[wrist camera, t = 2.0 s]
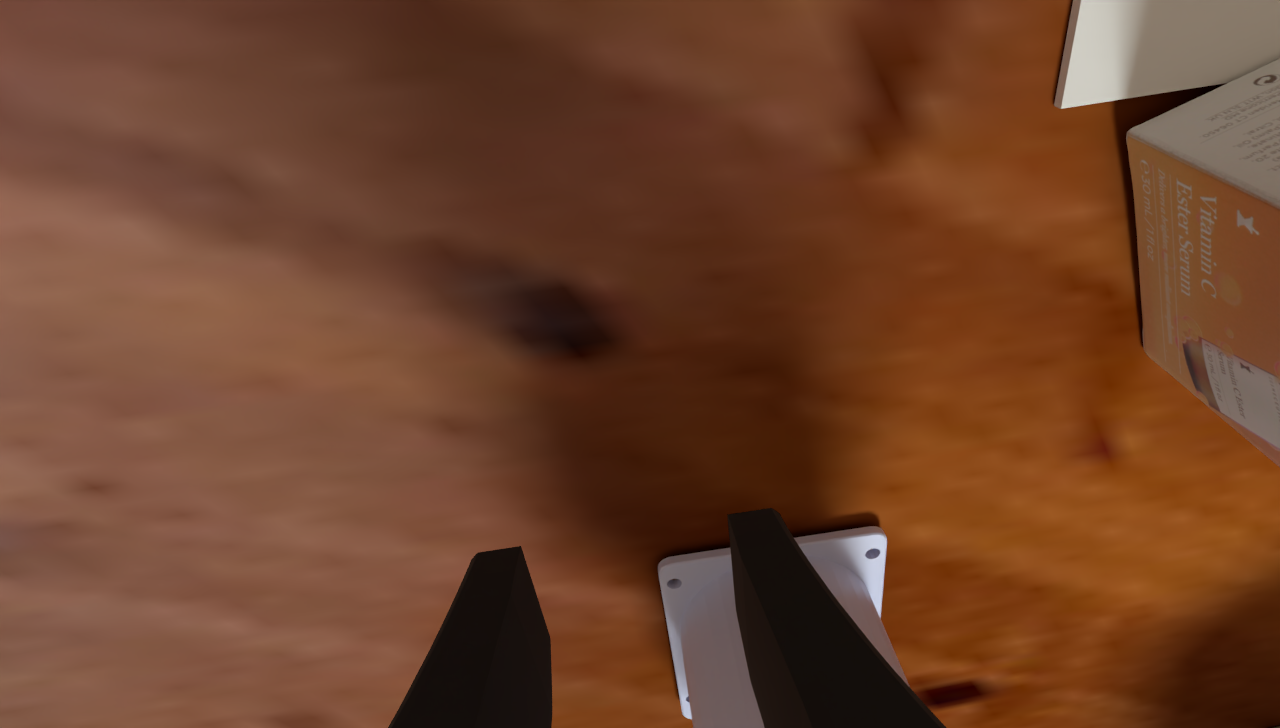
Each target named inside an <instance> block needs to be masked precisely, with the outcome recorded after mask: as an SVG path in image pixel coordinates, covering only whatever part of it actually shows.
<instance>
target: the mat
mask: <svg viewBox="0 0 1280 728" xmlns="http://www.w3.org/2000/svg"><path fill="white" fill-rule="evenodd" d="M1278 59H1280V0H1073V3H1072V9H1071V14H1070V20H1069V26H1068V31H1067V37H1066V42H1065V48H1064V53H1063V59H1062V64H1061V70H1060V75H1059V81H1058V86H1057V92H1056V97H1055V103H1054V106H1056V107H1058V108H1060V109H1063V108H1069V107H1075V106H1082V105H1088V104H1095V103H1101V102H1108V101H1114V100H1121V99H1127V98H1134V97H1140V96H1147V95H1153V94H1160V93H1166V92H1173V91H1179V90H1185V89H1192V88H1198V87H1205V86H1211V85H1218V84H1224V83H1229V82H1231V81H1233V80H1235V79H1238V78H1240V77H1242V76H1244V75H1246V74H1248V73H1250V72H1252V71H1254V70H1257V69H1259V68H1261V67H1263V66H1265V65H1267V64H1269V63H1271V62H1273V61H1276V60H1278Z"/></svg>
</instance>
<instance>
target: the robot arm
mask: <svg viewBox="0 0 1280 728" xmlns="http://www.w3.org/2000/svg"><path fill="white" fill-rule="evenodd" d="M728 526H729V538H730V548H724V549H717V550H710V551H704V552H697V553H691V554H684V555H678V556H671V557H667V558H665V559H663V560H662V561H660V563H659V564H658V576H659V581H660V587H661V593H662V599H663V604H664V610H665V616H666V622H667V628H668V633H669V639H670V645H671V651H672V657H673V662H674V668H675V674H676V680H677V685H678V691H679V697H680V703H681V709H682V714H683V716H685V717H686V718H688V719H692V722H693V728H946V727H945V726H944V725H943V724H942V723H941V722H940V720H939V719H938V718H937V717H936V716H935V715H934V714H933V713H932V712H931V711H930V710H929V709H928V708H927V706H926V705H925V704H924V703H923V702H922V701H921V700H920V699H919V698H918V696H917V695H916V694H915V693H914V692H913V691H912V690H911V689H910V686H909V684H908V682H907V679H906V677H905V675H904V672H903V670H902V668H901V665H900V663H899V661H898V659H897V656H896V654H895V652H894V649H893V647H892V645H891V642H890V640H889V638H888V635H887V633H886V631H885V628H884V626H883V624H882V621H881V608H882V596H883V584H884V572H885V561H886V549H887V537H886V535H885V533H884V531H883V530H882V529H881V528H880V527H877V526H868V527H862V528H855V529H848V530H842V531H835V532H829V533H822V534H816V535H809V536H802V537H796V538H794V537H793V536H792V534H791V533H790V531H789V529H788V528H787V526H786V524H785V523H784V521H783V519H782V517H781V515H780V514H779V513H778V512H777V511H775V510H774V509H772V508H768V509H762V510H755V511H748V512H742V513H735V514H729V515H728ZM870 549H871V550H870ZM671 579H675V580H671ZM551 723H552V674H551V644H550V636H549V633H548V629H547V626H546V623H545V620H544V617H543V614H542V611H541V608H540V604H539V601H538V598H537V595H536V592H535V589H534V586H533V583H532V579H531V576H530V573H529V570H528V567H527V564H526V561H525V558H524V554H523V551H522V548H521V546H519V547H513V548H506V549H499V550H493V551H486V552H480V553H477V554H476V555H475V556H474V558H473V559H472V560H471V562H470V565H469V567H468V569H467V572H466V574H465V576H464V579H463V581H462V583H461V585H460V587H459V590H458V592H457V594H456V596H455V599H454V601H453V603H452V605H451V607H450V609H449V611H448V614H447V616H446V618H445V620H444V622H443V624H442V626H441V628H440V630H439V632H438V634H437V636H436V638H435V640H434V642H433V645H432V647H431V649H430V651H429V652H428V654H427V656H426V658H425V660H424V662H423V664H422V666H421V668H420V670H419V672H418V673H417V675H416V677H415V679H414V681H413V683H412V685H411V687H410V689H409V691H408V693H407V695H406V696H405V698H404V700H403V702H402V704H401V706H400V708H399V709H398V711H397V713H396V715H395V717H394V718H393V720H392V722H391V724H390V725H389V727H388V728H551Z"/></svg>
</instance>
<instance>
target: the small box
mask: <svg viewBox="0 0 1280 728" xmlns="http://www.w3.org/2000/svg"><path fill="white" fill-rule="evenodd" d="M1126 142H1127V148H1128V155H1129V164H1130V170H1131V177H1132V185H1133V194H1134V205H1135V218H1136V230H1137V247H1138V261H1139V276H1140V292H1141V307H1142V320H1143V331H1142V335H1143V347H1144V351H1145V353H1146V354H1147V355H1148V356H1149V357H1150V358H1151V359H1152V360H1153V361H1154V362H1156V363H1157V364H1158V365H1159V366H1160V367H1162V368H1163V369H1164V370H1165V371H1167V372H1168V373H1169V374H1170V375H1172V376H1173V377H1174V378H1175V379H1176V380H1177V381H1179V382H1180V383H1181V384H1182V385H1183V386H1185V387H1186V388H1187V389H1188V390H1189V391H1191V392H1192V393H1193V394H1194V395H1195V396H1196V397H1198V398H1199V399H1200V400H1201V401H1202V402H1203V403H1204V404H1206V405H1207V406H1208V407H1209V408H1210V409H1211V410H1213V411H1214V412H1215V413H1216V414H1217V415H1218V416H1220V417H1221V418H1222V419H1223V420H1224V421H1225V422H1227V423H1228V424H1229V425H1230V426H1231V427H1232V428H1234V429H1235V430H1236V431H1237V432H1238V433H1240V434H1241V435H1242V436H1243V437H1244V438H1246V439H1247V440H1248V441H1249V442H1250V443H1251V444H1253V445H1254V446H1255V447H1256V448H1257V449H1259V450H1260V451H1261V452H1262V453H1263V454H1265V455H1266V456H1267V457H1268V458H1269V459H1271V460H1272V461H1273V462H1274V463H1275V464H1277V465H1278V466H1279V467H1280V59H1278V60H1276V61H1273V62H1271V63H1269V64H1267V65H1265V66H1263V67H1261V68H1259V69H1257V70H1254V71H1252V72H1250V73H1248V74H1246V75H1244V76H1242V77H1240V78H1238V79H1235V80H1233V81H1231V82H1229V83H1227V84H1225V85H1223V86H1221V87H1219V88H1216V89H1214V90H1212V91H1210V92H1208V93H1206V94H1204V95H1202V96H1199V97H1197V98H1195V99H1193V100H1191V101H1189V102H1187V103H1185V104H1182V105H1180V106H1178V107H1176V108H1174V109H1172V110H1170V111H1168V112H1165V113H1163V114H1161V115H1159V116H1157V117H1155V118H1153V119H1151V120H1148V121H1146V122H1144V123H1142V124H1140V125H1137V126H1135V127H1133V128H1131V129H1130V130H1129V131H1127V135H1126Z"/></svg>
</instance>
